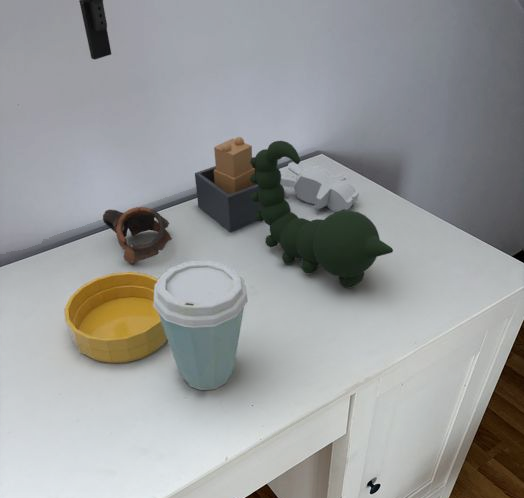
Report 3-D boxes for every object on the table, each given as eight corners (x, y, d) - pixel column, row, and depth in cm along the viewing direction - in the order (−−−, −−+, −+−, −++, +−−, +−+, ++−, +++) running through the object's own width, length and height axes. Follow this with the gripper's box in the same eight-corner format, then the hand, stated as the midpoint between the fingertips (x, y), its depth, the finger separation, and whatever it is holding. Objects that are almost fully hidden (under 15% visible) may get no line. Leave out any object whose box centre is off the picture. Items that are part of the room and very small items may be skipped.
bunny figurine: (342, 201, 94) (268, 169, 99) (337, 227, 98) (265, 194, 103) (368, 178, 100) (296, 148, 105) (361, 203, 104) (293, 173, 108)
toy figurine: (245, 258, 93) (368, 316, 79) (231, 144, 81) (375, 188, 66) (284, 235, 98) (407, 286, 83) (277, 124, 85) (420, 161, 71)
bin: (198, 207, 102) (194, 173, 97) (245, 189, 106) (244, 155, 101) (230, 232, 95) (228, 197, 91) (279, 212, 100) (279, 178, 95)
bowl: (52, 332, 78) (43, 307, 75) (133, 284, 86) (128, 260, 83) (114, 381, 72) (106, 356, 68) (196, 325, 79) (193, 300, 76)
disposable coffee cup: (180, 340, 77) (165, 247, 66) (258, 348, 75) (255, 255, 65) (157, 399, 69) (136, 305, 59) (243, 409, 68) (237, 315, 57)
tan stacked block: (214, 206, 101) (209, 140, 92) (234, 195, 103) (230, 130, 95) (236, 216, 98) (232, 150, 90) (256, 205, 101) (254, 139, 92)
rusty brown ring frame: (183, 236, 96) (179, 212, 88) (160, 284, 93) (154, 263, 85) (118, 210, 96) (108, 184, 88) (93, 257, 94) (81, 234, 86)
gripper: (120, -161, 59) (151, 58, 74) (-3, -167, 71) (45, 22, 86) (59, -156, 55) (104, 74, 70) (-61, -164, 67) (0, 34, 82)
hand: (71, 46), depth 78 cm, fingers open, 13 cm apart
